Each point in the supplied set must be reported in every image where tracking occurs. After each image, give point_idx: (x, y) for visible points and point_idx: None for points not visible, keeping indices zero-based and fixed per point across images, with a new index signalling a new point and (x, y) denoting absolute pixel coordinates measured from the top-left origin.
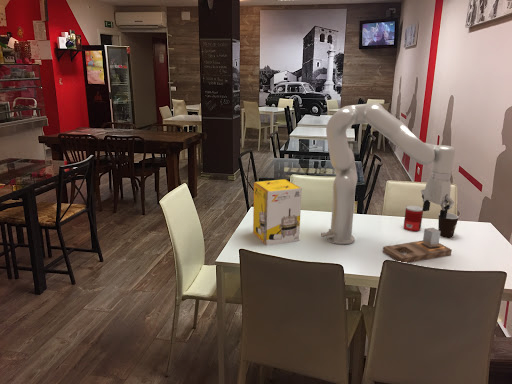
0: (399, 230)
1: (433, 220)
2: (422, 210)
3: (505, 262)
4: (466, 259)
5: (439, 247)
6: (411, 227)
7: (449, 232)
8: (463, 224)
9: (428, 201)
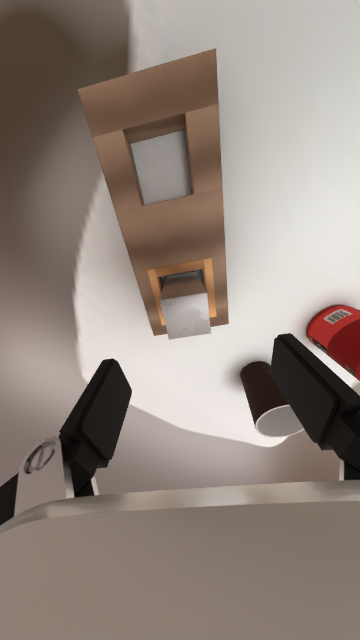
0: (341, 283)
1: None
2: (289, 333)
3: None
4: (131, 345)
5: None
6: (326, 318)
7: (245, 381)
8: None
9: (336, 448)
